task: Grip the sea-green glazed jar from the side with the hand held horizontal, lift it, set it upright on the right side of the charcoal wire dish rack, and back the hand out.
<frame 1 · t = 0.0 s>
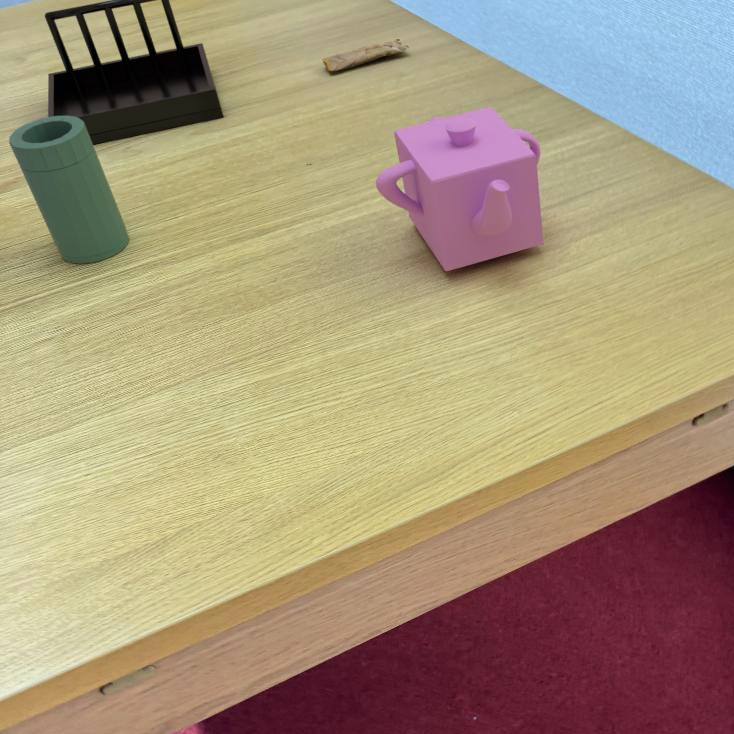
dish rack: (139, 108, 114), on the table
snack bar: (366, 61, 119), on the table
teapot: (472, 247, 89), on the table
jar: (95, 245, 94), on the table
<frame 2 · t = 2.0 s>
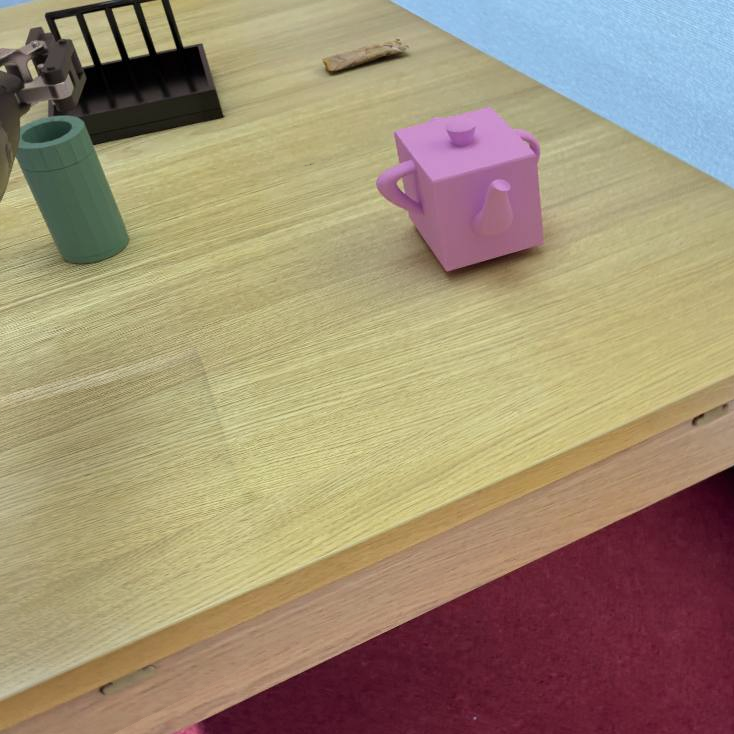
nothing on the table moved.
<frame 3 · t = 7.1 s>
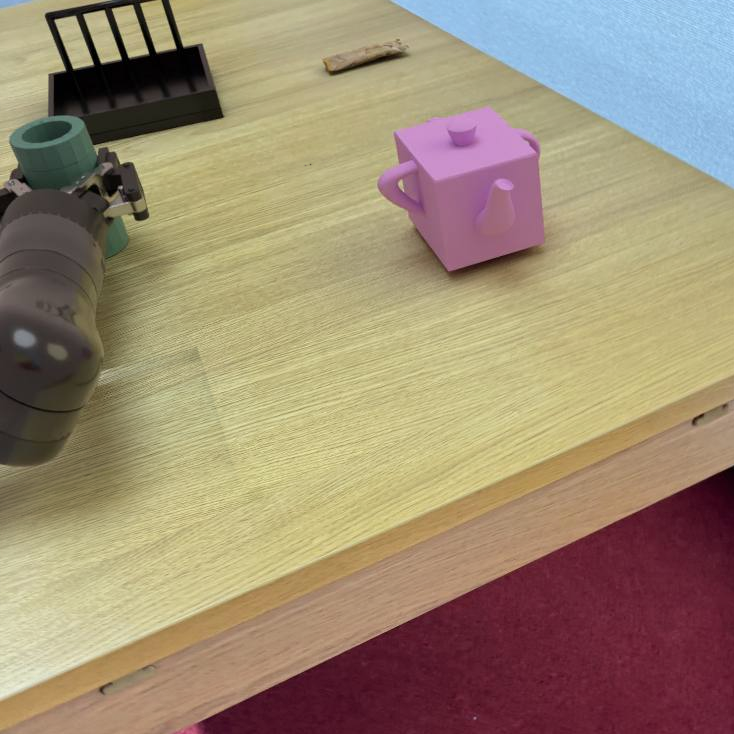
hand: (67, 165, 91), 7 cm above the table, tool horizontal, fingers closed on jar, 6 cm apart
jar: (95, 245, 94), on the table, touching gripper
everything else where it was.
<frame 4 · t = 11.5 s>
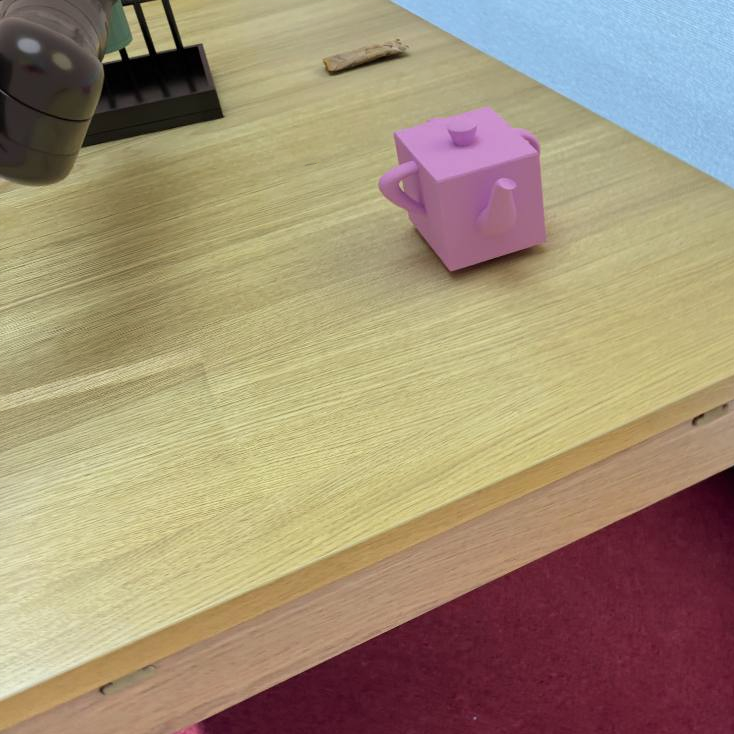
jar: (100, 44, 97), point 11 cm above the table, touching gripper
everything else where it was.
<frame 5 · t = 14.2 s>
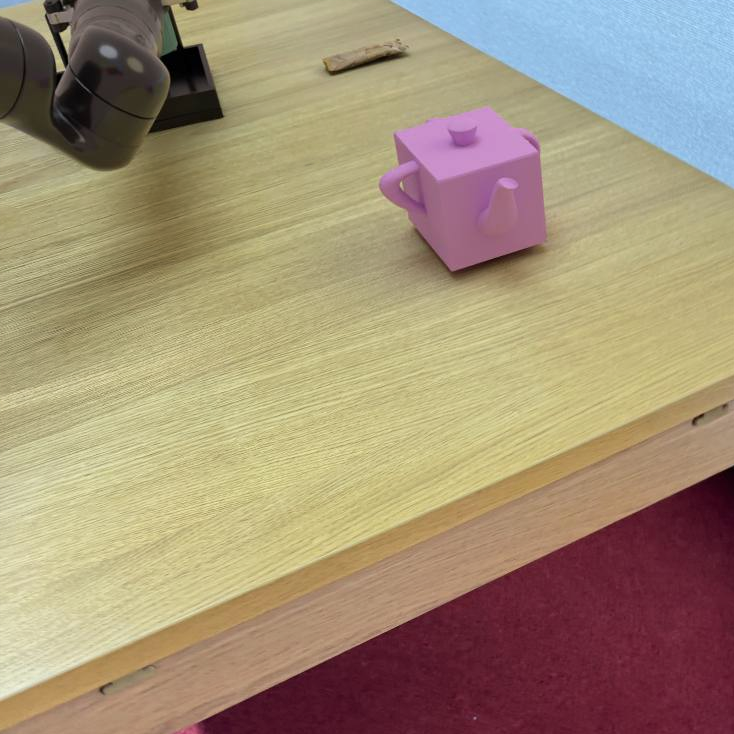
jar: (148, 49, 108), point 7 cm above the table, touching gripper
everything else where it was.
when the fingers open (7 cm above the table, at t = 16.3 s): jar stays where it is, resting on dish rack.
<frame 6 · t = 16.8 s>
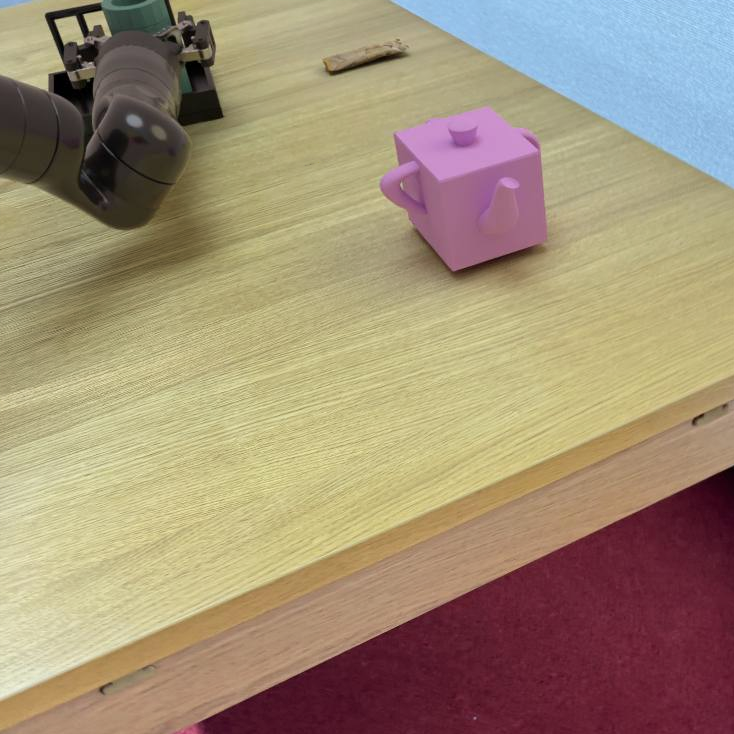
hand: (142, 28, 109), 8 cm above the table, tool horizontal, fingers open, 8 cm apart
jar: (166, 102, 112), point 1 cm above the table, touching dish rack
everything else where it was.
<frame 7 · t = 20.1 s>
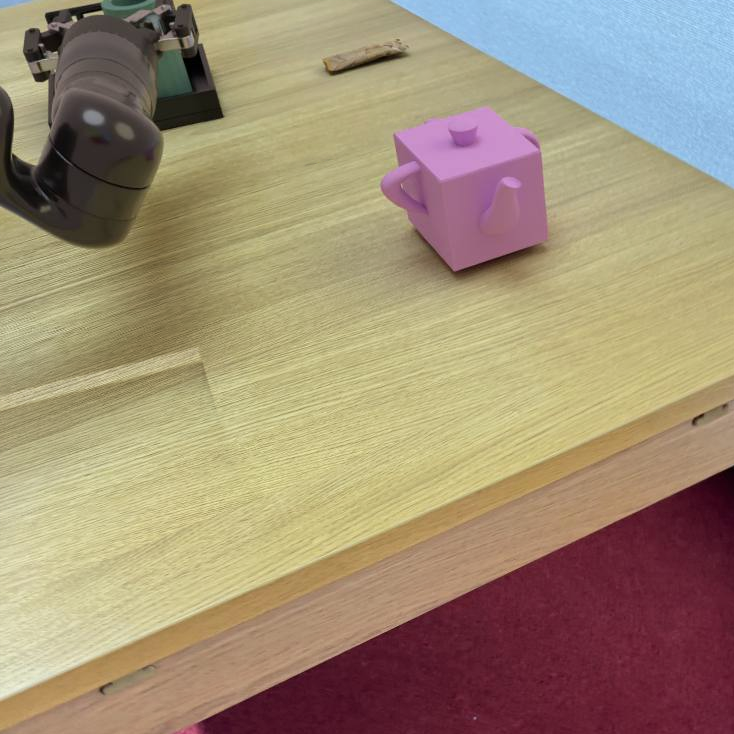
hand: (116, 13, 96), 14 cm above the table, tool horizontal, fingers open, 8 cm apart
nothing on the table moved.
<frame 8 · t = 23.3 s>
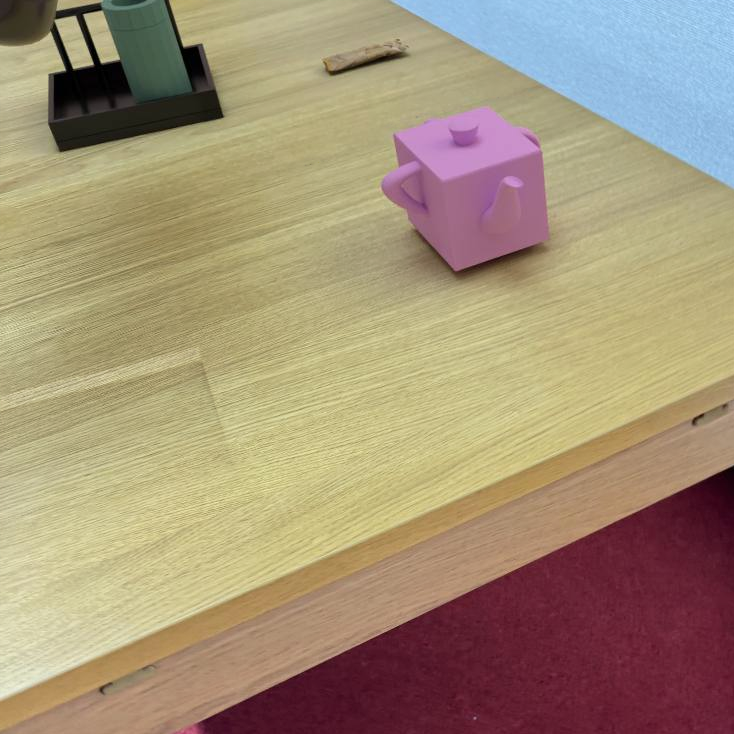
nothing on the table moved.
at the end: jar 0.4 cm from the target spot on the dish rack, point 1.0 cm above the dish rack's base; jar tilted 0°; the gripper is holding nothing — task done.
